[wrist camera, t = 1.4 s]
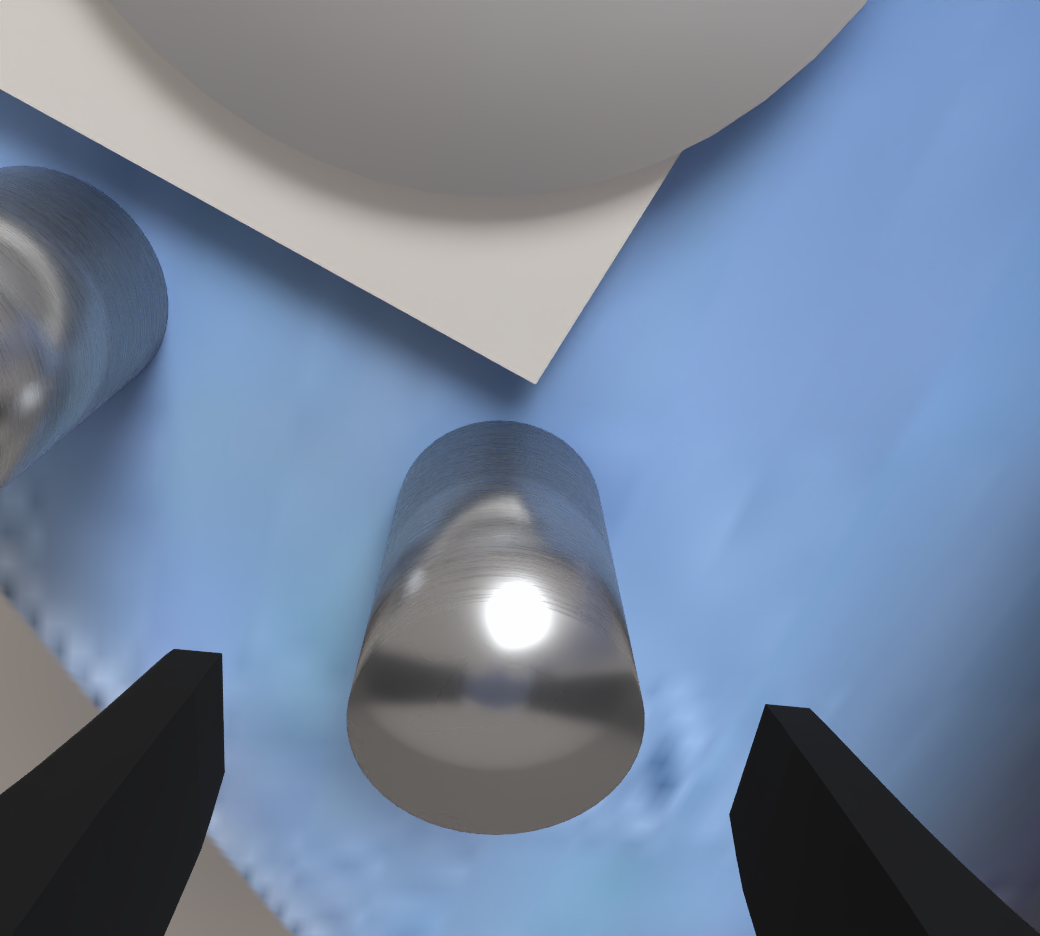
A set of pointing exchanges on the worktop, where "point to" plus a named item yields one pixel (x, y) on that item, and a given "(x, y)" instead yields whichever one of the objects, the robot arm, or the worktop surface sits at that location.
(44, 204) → the cylinder
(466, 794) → the cylinder
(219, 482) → the worktop surface
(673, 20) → the scale
